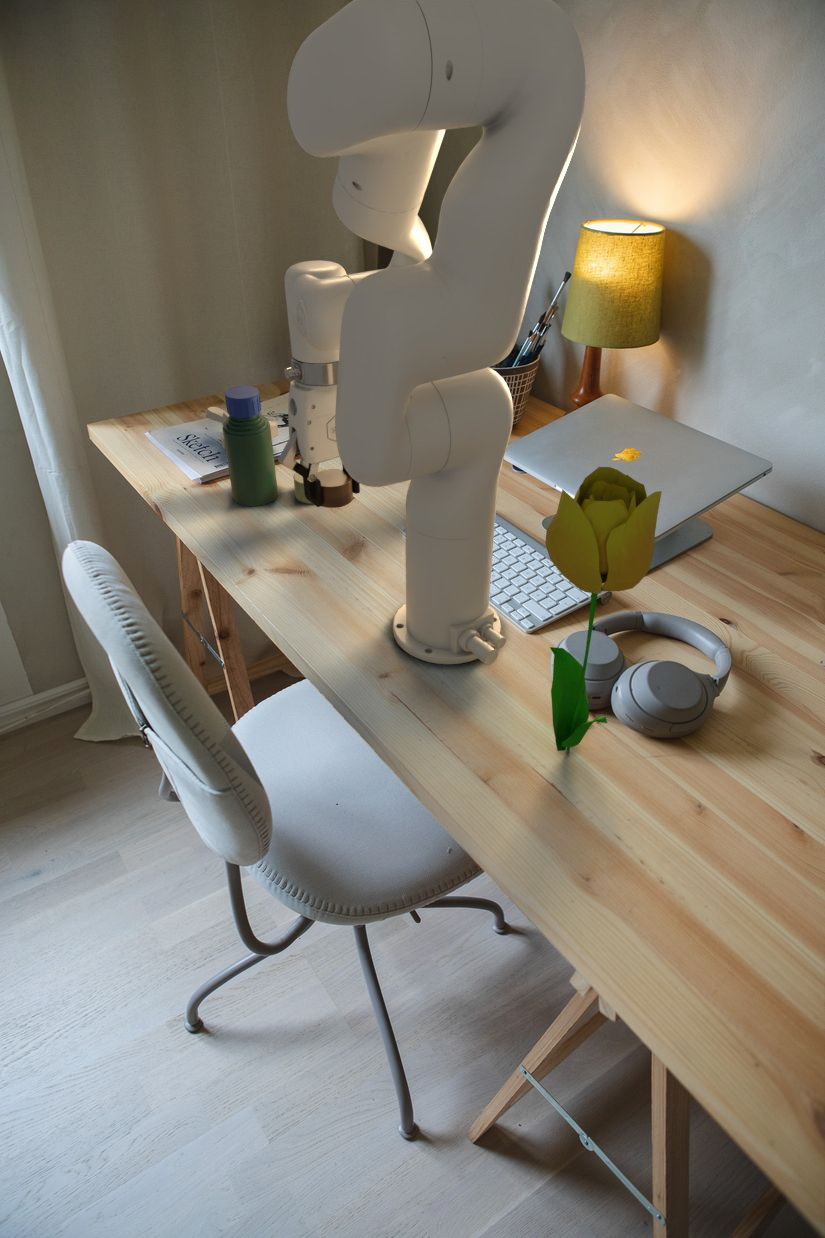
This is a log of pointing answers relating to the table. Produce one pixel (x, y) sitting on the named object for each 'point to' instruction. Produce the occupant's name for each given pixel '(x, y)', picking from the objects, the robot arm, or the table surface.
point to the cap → (243, 401)
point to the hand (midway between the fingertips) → (333, 495)
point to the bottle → (250, 460)
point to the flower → (596, 572)
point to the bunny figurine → (222, 415)
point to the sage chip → (301, 487)
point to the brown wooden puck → (335, 487)
